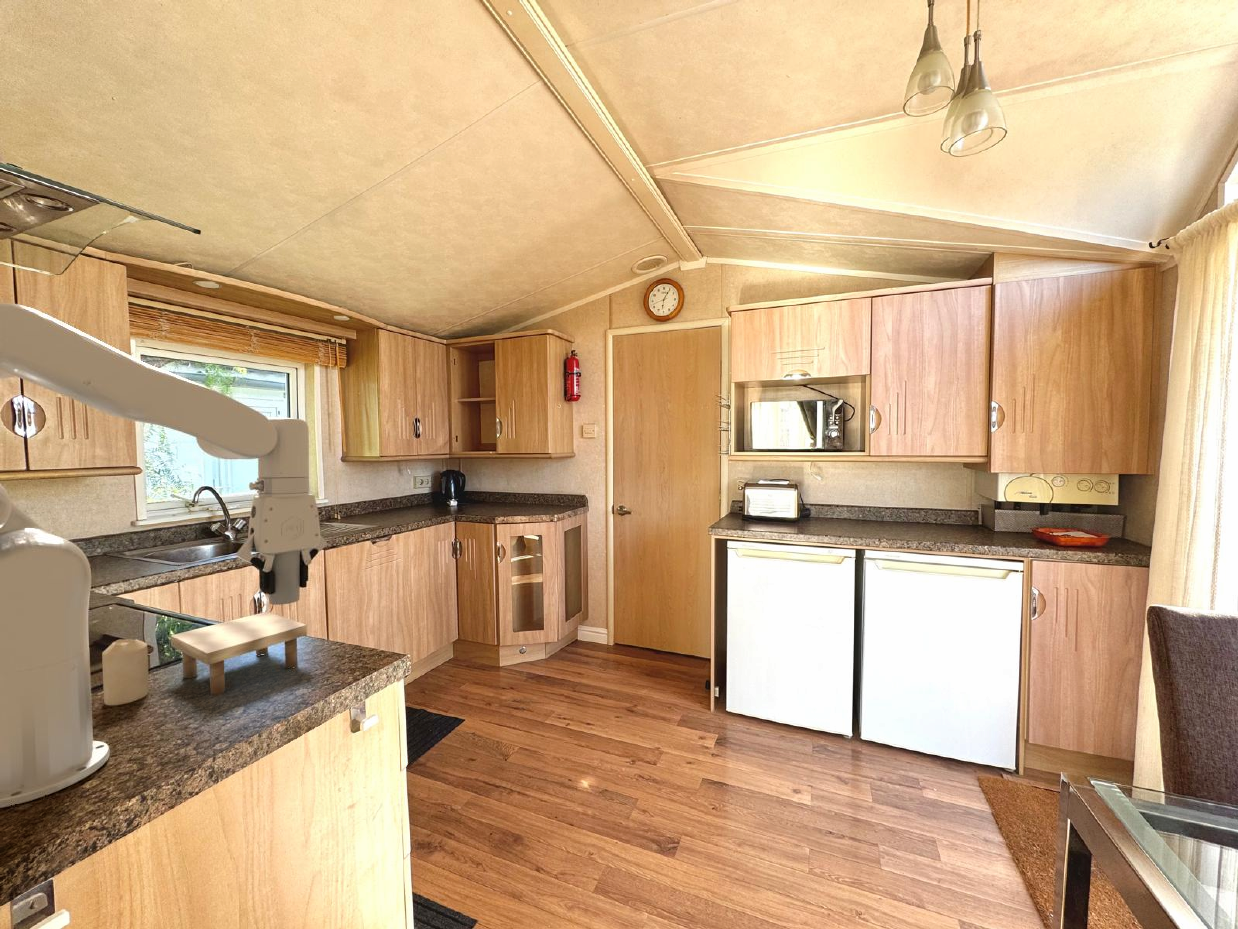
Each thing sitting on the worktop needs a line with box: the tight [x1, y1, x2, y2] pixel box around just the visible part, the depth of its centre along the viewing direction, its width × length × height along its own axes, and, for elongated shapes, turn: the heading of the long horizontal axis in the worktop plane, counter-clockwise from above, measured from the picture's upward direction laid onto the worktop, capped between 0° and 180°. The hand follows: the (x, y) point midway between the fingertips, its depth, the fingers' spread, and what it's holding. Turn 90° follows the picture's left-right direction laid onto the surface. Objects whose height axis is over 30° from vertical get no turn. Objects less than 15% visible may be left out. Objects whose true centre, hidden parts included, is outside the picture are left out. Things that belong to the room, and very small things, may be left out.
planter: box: [268, 551, 301, 606], centre depth 90 cm, size 4×4×10 cm
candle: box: [101, 638, 150, 706], centre depth 87 cm, size 6×6×10 cm
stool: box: [170, 611, 308, 696], centre depth 97 cm, size 16×16×8 cm
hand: (284, 588), depth 90 cm, fingers closed on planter, 4 cm apart
